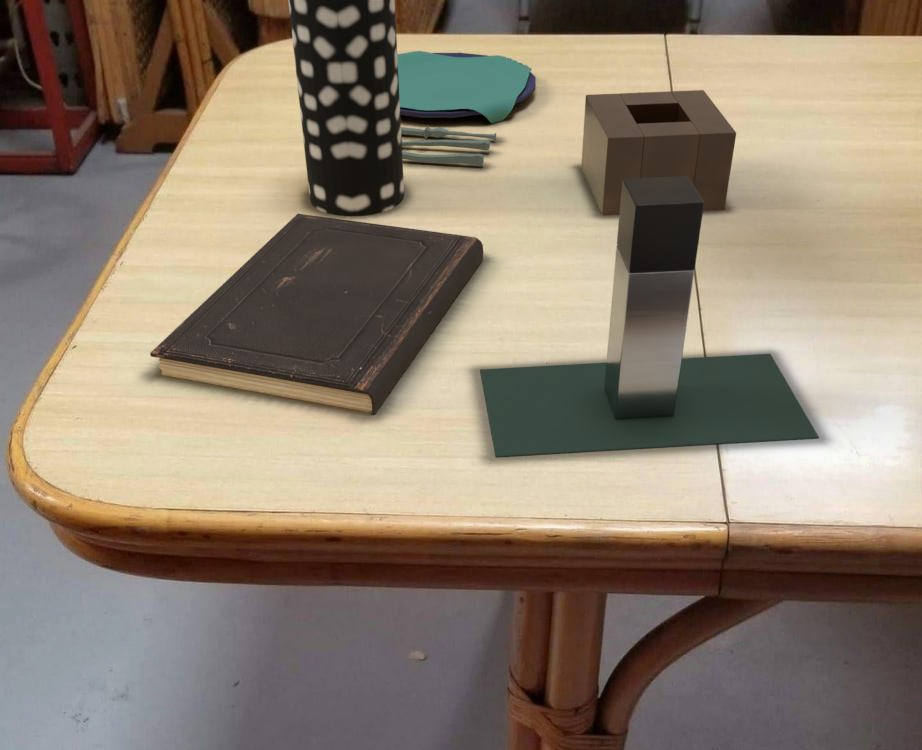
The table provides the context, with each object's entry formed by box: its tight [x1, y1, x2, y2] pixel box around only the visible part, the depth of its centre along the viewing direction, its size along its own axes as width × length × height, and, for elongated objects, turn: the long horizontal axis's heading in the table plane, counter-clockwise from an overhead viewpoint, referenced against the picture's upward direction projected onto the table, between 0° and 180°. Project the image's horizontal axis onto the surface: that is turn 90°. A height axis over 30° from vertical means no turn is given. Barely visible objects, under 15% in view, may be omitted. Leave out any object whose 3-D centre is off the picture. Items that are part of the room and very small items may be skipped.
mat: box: [479, 353, 820, 459], centre depth 69 cm, size 20×10×1 cm, turn 95°
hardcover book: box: [149, 213, 484, 416], centre depth 78 cm, size 16×23×2 cm
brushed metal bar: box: [604, 176, 704, 419], centre depth 64 cm, size 4×4×14 cm
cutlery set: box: [397, 50, 537, 167], centre depth 110 cm, size 20×30×2 cm, turn 168°
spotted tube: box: [287, 0, 405, 217], centre depth 88 cm, size 8×8×20 cm
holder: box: [580, 89, 737, 216], centre depth 93 cm, size 11×11×7 cm
